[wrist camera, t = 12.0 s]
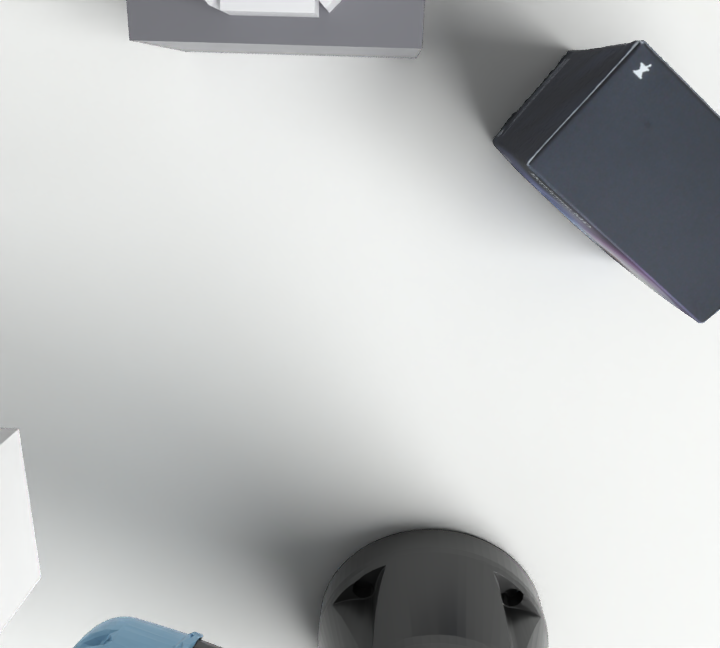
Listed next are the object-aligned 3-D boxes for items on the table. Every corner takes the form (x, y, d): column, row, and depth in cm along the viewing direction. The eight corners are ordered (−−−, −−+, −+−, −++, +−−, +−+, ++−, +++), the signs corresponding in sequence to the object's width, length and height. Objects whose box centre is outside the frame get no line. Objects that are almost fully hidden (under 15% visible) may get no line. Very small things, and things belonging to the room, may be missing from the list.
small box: (482, 146, 36) (516, 166, 26) (571, 45, 34) (643, 26, 24) (621, 270, 38) (700, 333, 28) (711, 181, 36) (831, 214, 26)
